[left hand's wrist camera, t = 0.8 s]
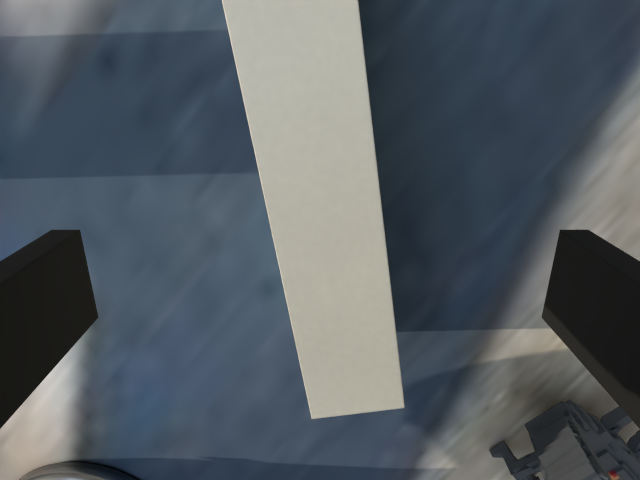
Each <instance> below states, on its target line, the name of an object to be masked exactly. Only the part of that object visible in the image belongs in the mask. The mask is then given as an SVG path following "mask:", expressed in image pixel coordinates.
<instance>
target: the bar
mask: <svg viewBox="0 0 640 480" xmlns="http://www.w3.org/2000/svg"><path fill="white" fill-rule="evenodd" d="M222 3H223V7H224V12H225V17H226V21H227V26H228V31H229V35H230V40H231V44H232V49H233V54H234V58H235V63H236V68H237V72H238V77H239V82H240V86H241V91H242V96H243V100H244V105H245V110H246V114H247V119H248V124H249V128H250V133H251V138H252V142H253V147H254V152H255V156H256V161H257V166H258V170H259V175H260V180H261V184H262V189H263V194H264V198H265V203H266V208H267V212H268V217H269V222H270V226H271V231H272V236H273V240H274V245H275V250H276V254H277V259H278V264H279V268H280V273H281V277H282V282H283V287H284V291H285V296H286V301H287V305H288V310H289V315H290V319H291V324H292V329H293V333H294V338H295V343H296V347H297V352H298V357H299V361H300V366H301V371H302V375H303V380H304V385H305V389H306V394H307V399H308V403H309V408H310V413H311V417H312V419H316V418H324V417H333V416H341V415H349V414H357V413H366V412H374V411H382V410H390V409H399V408H404V407H405V406H404V397H403V389H402V380H401V371H400V362H399V354H398V345H397V336H396V327H395V319H394V310H393V301H392V292H391V284H390V275H389V266H388V257H387V249H386V240H385V231H384V222H383V214H382V205H381V196H380V187H379V179H378V170H377V161H376V152H375V144H374V135H373V126H372V117H371V109H370V100H369V91H368V82H367V74H366V65H365V56H364V47H363V38H362V30H361V21H360V12H359V3H358V0H222Z"/></svg>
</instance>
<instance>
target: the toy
mask: <svg viewBox="0 0 640 480" xmlns="http://www.w3.org/2000/svg"><path fill="white" fill-rule="evenodd" d="M631 421H633V420H632V419H631V418H630V417H629V416H628V415H627V414H626V412H625V411H624V410H623V409H622V408H621V407H620V406H619V407H617V408H616V409H614V410H613V411H611V412H609V413H608V414H606V415H604V416H603V417H602V418H601V421H600V420H599V419H598V418H597V417H595V416H593V415H591V414H589V413H588V412H586V411H584V410H583V409H582V408H581V407H580V406H578V405H577V404H575V403H574V402H572V401H571V400H568V401H567V402H560V403H558V404H557V405H555V406H554V407H552V408H550V409H549V410H547V411H546V412H544V413H542V414H541V415H539V416H538V417H536V418H534V419H533V420H531V421H529V422H528V423H526V424H525V427H526V428H527V430H528V432H529V435H530V438H531V441H532V444H533V447H534V450H535V452H533V453H531V454H528V455H526V456H524V457H522V458H520V459H519V460H517V459H516V457H515V456H514V455H513V453H512V452H511V450H510V449H509V447H508V446H507V444H505V443H504V442H502V443H500V444H499V445H497V446H495V447H494V448H492V449H491V450H489V451H490V453H491V455H492V456H493V457H503V458H504V460H505V462H506V464H507V466H508V469H509V471H510V473H511V475H512V476H514V477H515V479H517V480H540V479H539V477H538V476H537V477H536V476H535V475H534V474H537V473H538V472H540V471H542V474H543V476H544V479H545V480H640V459H639V458H640V430H639V431H637V432H636V434H635V435H634V436H632V437H631V438H630V439H629V441H628V443H627V444H626V443H625V442H624V441H623V440H622V439H621V438H620V436H619V435H618V434H617V433H618V432H619V431H620V430H621V429H622V428H623V427H624V426H625V425H627V424H628V423H630V422H631ZM533 473H534V474H533Z"/></svg>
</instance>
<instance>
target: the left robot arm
mask: <svg viewBox="0 0 640 480" xmlns="http://www.w3.org/2000/svg"><path fill="white" fill-rule="evenodd" d="M97 318H98V313H97V309H96V304H95V299H94V295H93V290H92V285H91V280H90V276H89V271H88V266H87V261H86V257H85V252H84V247H83V242H82V238H81V233H80V230H51V231H49V232H48V233H46V234H44V235H43V236H41V237H39V238H38V239H36V240H34V241H33V242H31V243H30V244H28V245H26V246H25V247H23V248H21V249H20V250H18V251H17V252H15V253H13V254H12V255H10V256H8V257H7V258H5V259H3V260H2V261H0V428H1V427H2V426H3V425H4V424H5V423H6V422H7V420H8V419H9V418H10V417H11V416H12V415H13V414H14V412H15V411H16V410H17V409H18V408H19V407H20V406H21V405H22V403H23V402H24V401H25V400H26V399H27V398H28V397H29V395H30V394H31V393H32V392H33V391H34V390H35V389H36V388H37V386H38V385H39V384H40V383H41V382H42V381H43V380H44V378H45V377H46V376H47V375H48V374H49V373H50V372H51V370H52V369H53V368H54V367H55V366H56V365H57V364H58V363H59V361H60V360H61V359H62V358H63V357H64V356H65V355H66V353H67V352H68V351H69V350H70V349H71V348H72V347H73V346H74V344H75V343H76V342H77V341H78V340H79V339H80V338H81V336H82V335H83V334H84V333H85V332H86V331H87V330H88V328H89V327H90V326H91V325H92V324H93V323H94V322H95V321H96V319H97ZM542 318H543V319H544V321H545V322H546V323H547V324H548V325H549V326H550V327H551V328H552V330H553V331H554V332H555V333H556V334H557V335H558V336H559V338H560V339H561V340H562V341H563V342H564V343H565V344H566V346H567V347H568V348H569V349H570V350H571V351H572V352H573V353H574V355H575V356H576V357H577V358H578V359H579V360H580V361H581V363H582V364H583V365H584V366H585V367H586V368H587V369H588V370H589V372H590V373H591V374H592V375H593V376H594V377H595V378H596V380H597V381H598V382H599V383H600V384H601V385H602V386H603V388H604V389H605V390H606V391H607V392H608V393H609V394H610V395H611V397H612V398H613V399H614V400H615V401H616V402H617V403H618V405H619V406H620V407H621V408H622V409H623V410H624V411H625V412H626V414H627V415H628V416H629V417H630V418H631V419H632V420H633V422H634V423H635V424H636V425H637V426H638V427H639V428H640V261H638V260H637V259H635V258H633V257H632V256H630V255H628V254H627V253H625V252H623V251H622V250H620V249H619V248H617V247H615V246H614V245H612V244H610V243H609V242H607V241H606V240H604V239H602V238H601V237H599V236H597V235H596V234H594V233H592V232H591V231H589V230H560V233H559V238H558V242H557V247H556V252H555V257H554V261H553V266H552V271H551V276H550V280H549V285H548V290H547V295H546V299H545V304H544V309H543V313H542ZM19 480H136V479H134V478H133V477H131V476H129V475H127V474H125V473H122V472H120V471H117V470H115V469H111V468H108V467H105V466H101V465H96V464H90V463H80V462H65V463H56V464H51V465H46V466H43V467H40V468H37V469H35V470H33V471H31V472H29V473H27V474H26V475H24V476H23V477H21V478H20V479H19Z"/></svg>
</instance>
